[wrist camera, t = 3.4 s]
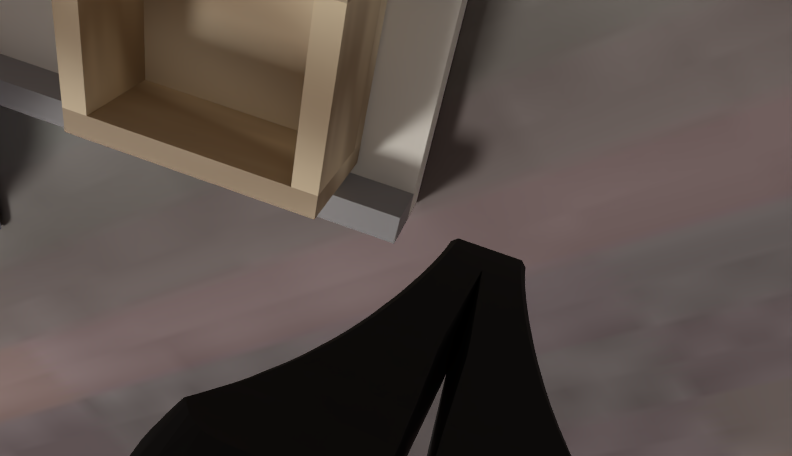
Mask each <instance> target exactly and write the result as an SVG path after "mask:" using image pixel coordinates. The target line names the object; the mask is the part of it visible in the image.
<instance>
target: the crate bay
mask: <svg viewBox="0 0 792 456" xmlns="http://www.w3.org/2000/svg"><path fill="white" fill-rule="evenodd" d="M467 1H468V0H387V5H386V10H385V16H384V21H383V26H382V32H381V37H380V43H379V48H378V53H377V59H376V64H375V69H374V75H373V80H372V86H371V91H370V96H369V102H368V107H367V113H366V118H365V123H364V129H363V134H362V140H361V145H360V150H359V156H358V161H357V164H356V165H355V166H354V168H353V169H352V170H351V172H350V173H349V174H348V176H347V177H346V178H345V180H344V181H343V182H342V184H341V185H340V186H339V188H338V189H337V190H336V192H335V193H334V194H333V195H332V197H331V198H330V199H329V201H328V202H327V203H326V205H325V206H324V207H323V209H322V210H321V211H320V213H319V214H318V215H317V217H319V218H322V219H325V220H328V221H331V222H334V223H337V224H339V225H342V226H345V227H348V228H351V229H354V230H356V231H359V232H362V233H365V234H368V235H371V236H374V237H376V238H379V239H382V240H385V241H388V242H391V243H393V244H394V243H395V241H396V239H397V237H398V235H399V234H400V232H401V230H402V228H403V226H404V224H405V223H406V221H407V219H408V217H409V215H410V214H411V212H412V210H413V208H414V206H415V205H416V202H417V198H418V194H419V190H420V186H421V182H422V178H423V174H424V170H425V166H426V162H427V158H428V155H429V151H430V147H431V143H432V139H433V135H434V131H435V127H436V123H437V119H438V115H439V111H440V107H441V103H442V99H443V95H444V92H445V88H446V84H447V80H448V76H449V72H450V68H451V64H452V60H453V56H454V52H455V48H456V44H457V40H458V36H459V32H460V29H461V25H462V21H463V17H464V13H465V9H466V5H467ZM0 105H1V106H3V107H6V108H9V109H12V110H15V111H18V112H21V113H23V114H26V115H29V116H32V117H35V118H38V119H40V120H43V121H46V122H49V123H52V124H55V125H58V126H60V127H63V128H64V120H63V111H62V101H61V91H60V81H59V71H58V61H57V51H56V42H55V32H54V22H53V12H52V2H51V0H0Z"/></svg>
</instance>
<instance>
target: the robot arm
mask: <svg viewBox="0 0 792 456" xmlns="http://www.w3.org/2000/svg"><path fill="white" fill-rule="evenodd" d="M0 229H1V223H0ZM445 375H446V378H445V382H444V386H443V390H442V394H441V399H440V403H439V407H438V411H437V415H436V420H435V424H434V428H433V432H432V437H431V441H430V445H429V449H428V454H427V456H571V454H570V452H569V450H568V448H567V445H566V443H565V440H564V438H563V436H562V433H561V431H560V429H559V426H558V423H557V421H556V418H555V415H554V413H553V410H552V407H551V405H550V402H549V399H548V396H547V393H546V389H545V386H544V383H543V379H542V376H541V372H540V369H539V365H538V361H537V357H536V353H535V349H534V344H533V339H532V334H531V329H530V324H529V317H528V311H527V302H526V292H525V266H524V264H523V262H522V260H519V259H516V258H513V257H510V256H507V255H505V254H502V253H499V252H496V251H493V250H490V249H487V248H484V247H482V246H479V245H476V244H473V243H470V242H467V241H464V240H461V239H456V240H453V241H451V242H450V243H449V245H448V246H447V248H446V249H445V250H444V251H443V252H442V254H441V255H440V256H439V257H438V258H437V259H436V260H435V261H434V262H433V263H432V264H431V265H430V266H429V267H428V268H427V269H426V270H425V271H424V272H423V273H422V274H421V275H420V276H419V277H418V278H416V279H415V280H414V281H413V282H412V283H411V284H410V285H408V286H407V287H406V288H405V289H404V290H403V291H402V292H400V293H399V294H398V295H397V296H395V297H394V298H393V299H391V300H390V301H389V302H387V303H386V304H385V305H383V306H382V307H381V308H379V309H378V310H377V311H375V312H374V313H373V314H371V315H370V316H369V317H367V318H366V319H364V320H363V321H361V322H360V323H358V324H357V325H355V326H354V327H352V328H350V329H349V330H347V331H345V332H344V333H342V334H340V335H339V336H337V337H335V338H334V339H332V340H330V341H328V342H326V343H324V344H323V345H321V346H319V347H317V348H315V349H313V350H311V351H309V352H307V353H305V354H303V355H301V356H299V357H297V358H295V359H293V360H291V361H288V362H286V363H284V364H281V365H279V366H276V367H274V368H271V369H269V370H266V371H264V372H261V373H259V374H256V375H254V376H252V377H249V378H246V379H244V380H241V381H238V382H235V383H232V384H228V385H225V386H222V387H218V388H215V389H212V390H209V391H205V392H202V393H199V394H195V395H191V396H187V397H184V398H183V399H182V400H181V401H180V402H178V403H177V404H176V405H175V406H174V407H173V408H172V409H171V410H170V411H169V412H168V413H167V414H166V415H165V416H164V417H163V418H162V419H161V420H160V421H159V422H158V423H157V424H156V425H155V426H154V427H153V428H152V429H151V430H150V431H149V432H148V433H147V434H146V435H145V436H144V438H143V439H142V440H141V441H140V442H139V444H138V445H137V447H136V448H135V449H134V451H133V452H132V453H131V455H130V456H407V455H408V453H409V451H410V449H411V447H412V444H413V442H414V440H415V438H416V436H417V434H418V432H419V430H420V428H421V426H422V424H423V422H424V419H425V417H426V415H427V413H428V411H429V409H430V407H431V405H432V403H433V401H434V399H435V396H436V394H437V392H438V390H439V388H440V386H441V384H442V382H443V380H444V377H445Z"/></svg>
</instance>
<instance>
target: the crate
mask: <svg viewBox="0 0 792 456" xmlns="http://www.w3.org/2000/svg"><path fill="white" fill-rule="evenodd" d="M51 2H52V12H53V22H54V32H55V42H56V51H57V61H58V71H59V81H60V91H61V101H62V111H63V120H64V130H65V132H67V133H70V134H73V135H76V136H79V137H81V138H84V139H87V140H90V141H93V142H96V143H99V144H101V145H104V146H107V147H110V148H113V149H116V150H118V151H121V152H124V153H127V154H130V155H133V156H135V157H138V158H141V159H144V160H147V161H150V162H152V163H155V164H158V165H161V166H164V167H167V168H170V169H172V170H175V171H178V172H181V173H184V174H187V175H189V176H192V177H195V178H198V179H201V180H204V181H206V182H209V183H212V184H215V185H218V186H221V187H223V188H226V189H229V190H232V191H235V192H238V193H241V194H243V195H246V196H249V197H252V198H255V199H258V200H260V201H263V202H266V203H269V204H272V205H275V206H277V207H280V208H283V209H286V210H289V211H292V212H295V213H297V214H300V215H303V216H306V217H309V218H312V219H315V218H316V217H317V215H318V214H319V213H320V211H321V210H322V209H323V207H324V206H325V205H326V203H327V202H328V201H329V199H330V198H331V197H332V195H333V194H334V193H335V192H336V190H337V189H338V188H339V186H340V185H341V184H342V182H343V181H344V180H345V178H346V177H347V176H348V174H349V173H350V172H351V170H352V169H353V168H354V166H355V165H356V164H357V161H358V156H359V150H360V145H361V140H362V134H363V129H364V123H365V118H366V113H367V107H368V102H369V96H370V91H371V86H372V80H373V75H374V69H375V64H376V59H377V53H378V48H379V43H380V37H381V32H382V26H383V21H384V16H385V10H386V5H387V0H51Z"/></svg>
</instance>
